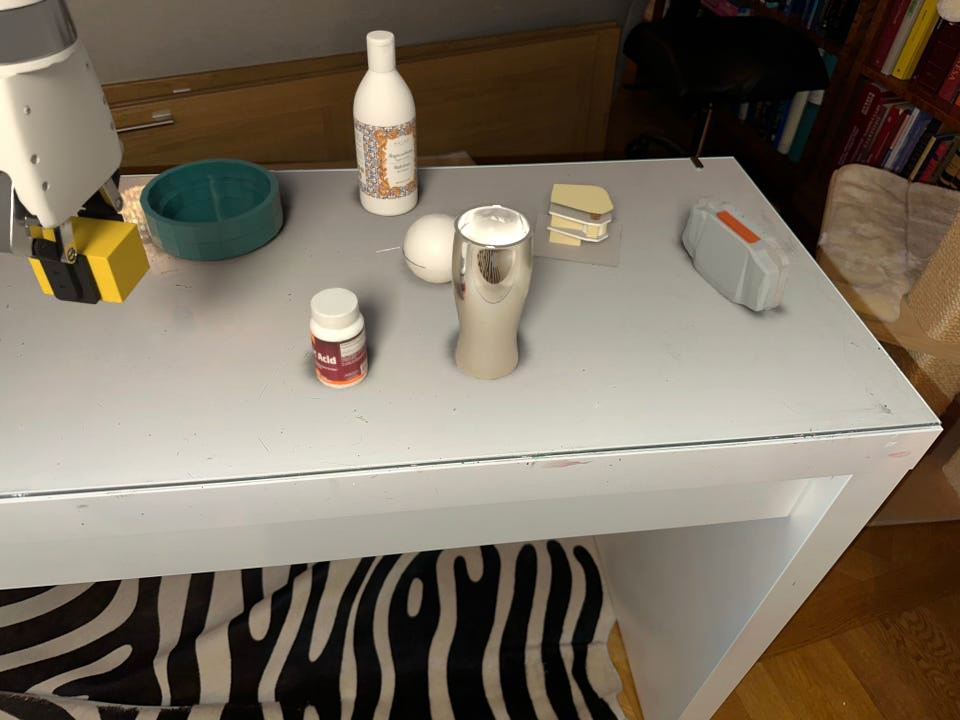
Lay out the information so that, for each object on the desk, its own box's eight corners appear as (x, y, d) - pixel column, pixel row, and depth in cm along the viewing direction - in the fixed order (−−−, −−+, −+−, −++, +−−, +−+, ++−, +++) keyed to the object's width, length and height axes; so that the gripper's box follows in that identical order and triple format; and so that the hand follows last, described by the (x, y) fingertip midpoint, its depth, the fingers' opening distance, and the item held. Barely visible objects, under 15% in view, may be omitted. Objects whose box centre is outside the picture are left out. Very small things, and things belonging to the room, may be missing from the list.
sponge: (43, 294, 55) (23, 248, 52) (76, 258, 58) (58, 214, 55) (122, 303, 54) (106, 258, 51) (150, 267, 57) (136, 222, 55)
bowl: (128, 258, 82) (115, 219, 78) (183, 190, 92) (174, 153, 89) (259, 272, 81) (251, 232, 77) (299, 202, 91) (294, 164, 88)
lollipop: (472, 257, 84) (474, 200, 79) (471, 298, 78) (474, 239, 73) (382, 255, 84) (378, 197, 79) (376, 296, 78) (371, 236, 73)
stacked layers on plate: (529, 255, 85) (533, 213, 81) (538, 213, 91) (542, 173, 87) (618, 267, 83) (626, 224, 80) (621, 224, 90) (629, 183, 86)
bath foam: (379, 224, 88) (367, 52, 75) (350, 198, 92) (334, 30, 79) (428, 207, 91) (426, 39, 78) (398, 183, 95) (391, 19, 82)
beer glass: (537, 357, 72) (553, 224, 62) (489, 395, 68) (498, 259, 58) (483, 325, 75) (489, 193, 65) (434, 359, 71) (433, 224, 61)
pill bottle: (306, 371, 70) (294, 300, 64) (347, 348, 72) (339, 277, 66) (337, 398, 67) (328, 326, 62) (379, 373, 70) (373, 302, 64)
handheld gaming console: (776, 320, 78) (801, 256, 72) (754, 327, 77) (777, 262, 71) (693, 246, 87) (710, 184, 82) (672, 251, 86) (687, 189, 81)
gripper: (24, -25, 50) (105, 213, 62) (-169, 77, 38) (-20, 347, 50) (132, -14, 49) (192, 223, 62) (-27, 91, 37) (88, 360, 50)
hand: (96, 276), depth 56 cm, fingers closed on sponge, 4 cm apart
